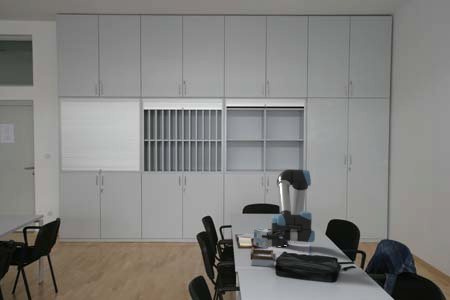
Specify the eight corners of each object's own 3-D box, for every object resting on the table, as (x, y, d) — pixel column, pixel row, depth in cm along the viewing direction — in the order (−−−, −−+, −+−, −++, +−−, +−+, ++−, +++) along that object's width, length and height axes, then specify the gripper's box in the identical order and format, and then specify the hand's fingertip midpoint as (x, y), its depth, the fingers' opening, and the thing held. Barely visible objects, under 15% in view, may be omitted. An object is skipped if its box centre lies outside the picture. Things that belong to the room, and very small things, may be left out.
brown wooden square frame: (251, 252, 253) (251, 246, 253) (273, 253, 251) (273, 248, 251) (250, 259, 238) (250, 253, 238) (273, 260, 236) (273, 254, 236)
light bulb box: (253, 245, 231) (253, 228, 231) (259, 243, 236) (260, 227, 236) (265, 248, 224) (266, 232, 224) (272, 246, 229) (272, 230, 228)
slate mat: (252, 259, 237) (252, 258, 237) (272, 261, 235) (272, 260, 235) (251, 265, 225) (251, 264, 225) (272, 267, 223) (272, 266, 223)
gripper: (291, 246, 216) (256, 244, 219) (289, 236, 239) (257, 234, 242) (291, 234, 216) (256, 232, 219) (289, 225, 239) (257, 223, 242)
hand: (257, 233), depth 230 cm, fingers closed on light bulb box, 11 cm apart
